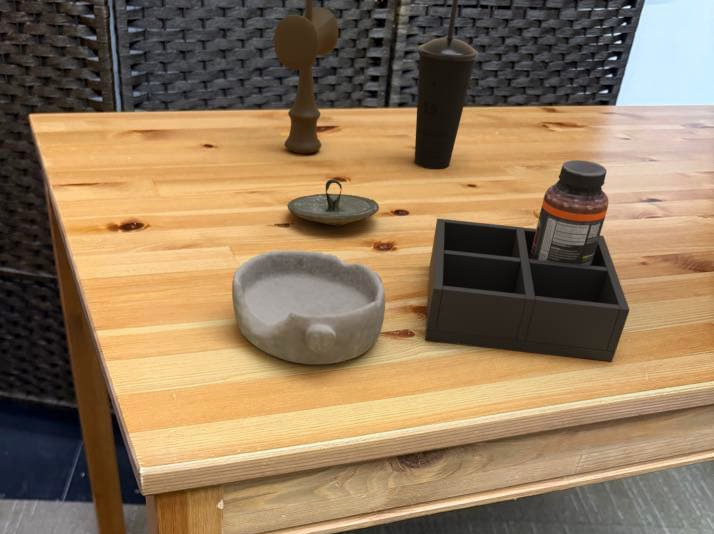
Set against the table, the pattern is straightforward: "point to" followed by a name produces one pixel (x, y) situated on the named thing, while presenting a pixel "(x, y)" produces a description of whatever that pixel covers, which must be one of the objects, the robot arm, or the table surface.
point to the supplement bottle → (572, 215)
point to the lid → (333, 207)
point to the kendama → (305, 68)
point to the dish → (308, 306)
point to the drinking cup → (441, 95)
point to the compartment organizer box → (520, 294)
